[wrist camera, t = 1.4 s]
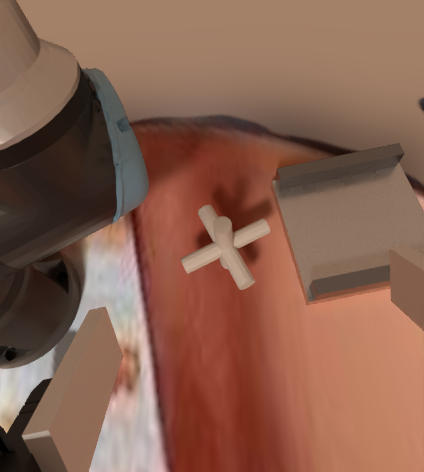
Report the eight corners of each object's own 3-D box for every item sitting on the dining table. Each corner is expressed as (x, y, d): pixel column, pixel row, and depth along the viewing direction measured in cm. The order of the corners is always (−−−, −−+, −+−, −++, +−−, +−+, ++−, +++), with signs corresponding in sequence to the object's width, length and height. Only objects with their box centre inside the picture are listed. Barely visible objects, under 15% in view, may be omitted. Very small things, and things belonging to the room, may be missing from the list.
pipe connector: (209, 317, 39) (197, 294, 30) (174, 246, 43) (154, 207, 34) (285, 278, 40) (296, 244, 31) (244, 212, 45) (243, 165, 36)
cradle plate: (306, 305, 39) (312, 295, 35) (271, 187, 46) (272, 169, 42) (447, 276, 39) (468, 264, 35) (390, 162, 46) (403, 142, 42)
